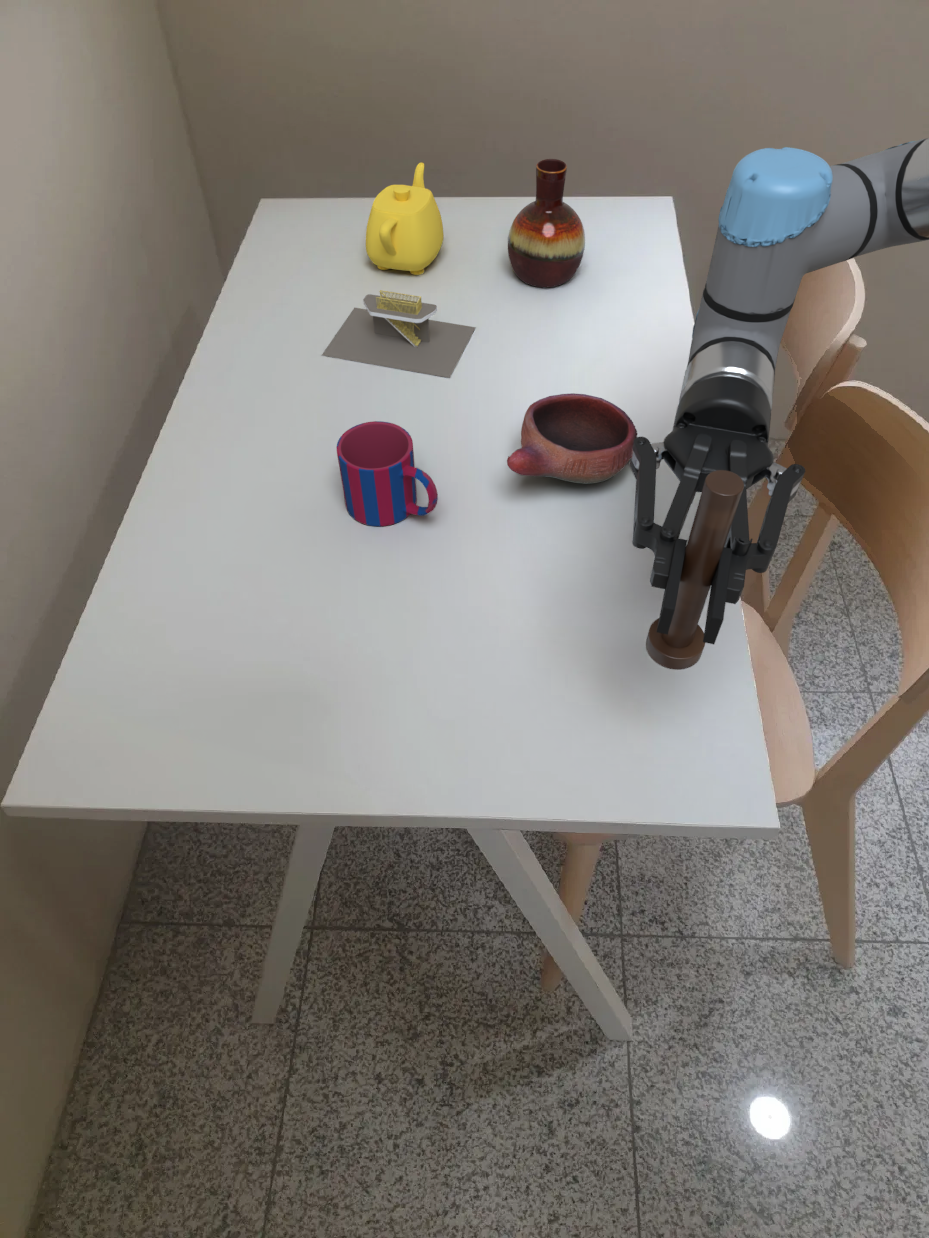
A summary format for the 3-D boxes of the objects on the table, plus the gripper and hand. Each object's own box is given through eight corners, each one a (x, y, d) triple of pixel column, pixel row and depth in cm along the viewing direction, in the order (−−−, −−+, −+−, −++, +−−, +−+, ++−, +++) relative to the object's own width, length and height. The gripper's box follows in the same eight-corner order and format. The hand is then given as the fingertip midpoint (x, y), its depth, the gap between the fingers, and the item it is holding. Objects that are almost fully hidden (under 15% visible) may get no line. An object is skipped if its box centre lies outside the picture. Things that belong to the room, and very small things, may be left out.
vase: (503, 256, 127) (506, 148, 115) (576, 253, 128) (586, 146, 116) (510, 296, 121) (514, 186, 108) (586, 293, 121) (599, 183, 109)
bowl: (535, 422, 103) (539, 367, 97) (639, 442, 100) (650, 387, 94) (499, 511, 94) (500, 456, 87) (612, 535, 91) (622, 480, 85)
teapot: (393, 225, 134) (387, 154, 125) (459, 234, 132) (458, 162, 123) (352, 283, 123) (343, 210, 115) (423, 294, 121) (420, 220, 113)
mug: (383, 467, 98) (377, 411, 92) (456, 518, 93) (455, 461, 86) (331, 502, 95) (320, 446, 88) (403, 556, 89) (398, 501, 83)
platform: (449, 378, 109) (448, 333, 104) (321, 355, 112) (314, 310, 107) (475, 327, 116) (475, 283, 111) (354, 307, 119) (349, 263, 114)
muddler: (704, 632, 67) (763, 466, 54) (698, 675, 65) (758, 512, 51) (649, 620, 68) (693, 453, 54) (641, 663, 66) (685, 499, 52)
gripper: (806, 462, 71) (792, 684, 57) (624, 431, 74) (569, 634, 60) (835, 388, 65) (828, 615, 51) (637, 357, 68) (579, 564, 54)
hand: (689, 625), depth 56 cm, fingers closed on muddler, 2 cm apart
